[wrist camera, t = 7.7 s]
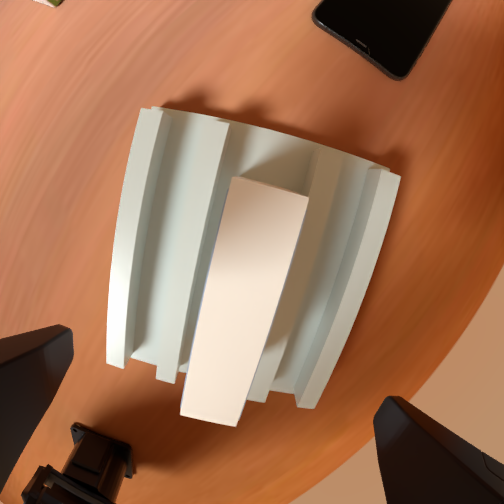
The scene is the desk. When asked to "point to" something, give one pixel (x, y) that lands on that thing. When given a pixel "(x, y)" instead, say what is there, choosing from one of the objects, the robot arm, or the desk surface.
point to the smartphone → (383, 29)
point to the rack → (203, 237)
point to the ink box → (49, 2)
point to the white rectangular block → (240, 296)
